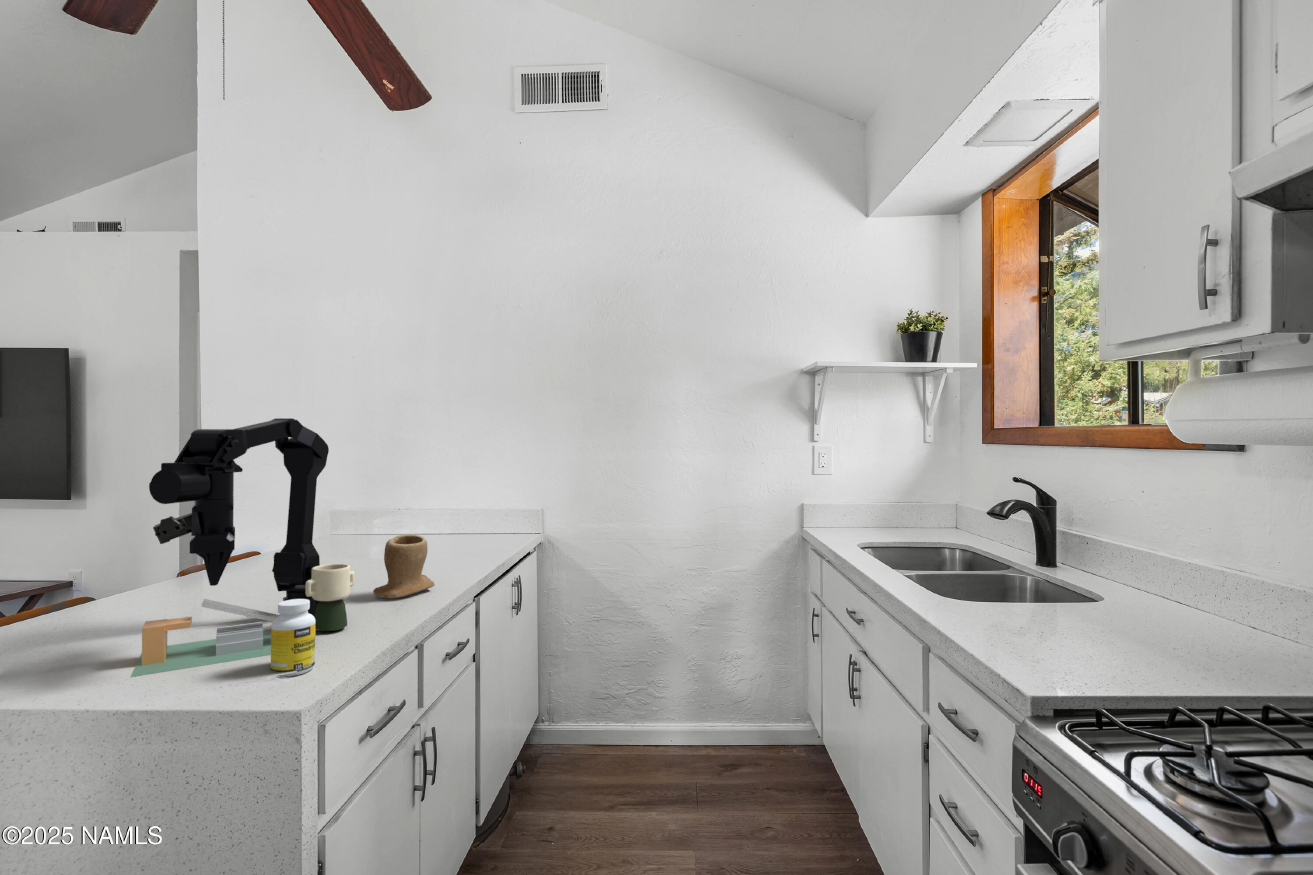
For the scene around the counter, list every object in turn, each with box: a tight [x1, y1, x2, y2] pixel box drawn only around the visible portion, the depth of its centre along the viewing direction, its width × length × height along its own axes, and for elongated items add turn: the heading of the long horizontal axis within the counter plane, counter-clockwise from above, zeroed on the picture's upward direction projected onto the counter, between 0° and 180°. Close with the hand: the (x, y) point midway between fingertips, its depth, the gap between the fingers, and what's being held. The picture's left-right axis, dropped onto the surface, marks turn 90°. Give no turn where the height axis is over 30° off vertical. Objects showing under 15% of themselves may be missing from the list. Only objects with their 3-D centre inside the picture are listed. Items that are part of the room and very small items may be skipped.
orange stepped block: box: [141, 616, 193, 666], centre depth 108 cm, size 6×5×6 cm
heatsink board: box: [130, 621, 271, 678], centre depth 113 cm, size 23×16×6 cm
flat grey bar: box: [200, 598, 279, 622], centre depth 115 cm, size 14×4×1 cm, turn 124°
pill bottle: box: [270, 599, 316, 678], centre depth 105 cm, size 6×6×12 cm
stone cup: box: [372, 533, 435, 599], centre depth 158 cm, size 15×12×15 cm
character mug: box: [306, 563, 356, 633], centre depth 128 cm, size 11×7×13 cm, turn 155°
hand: (213, 585), depth 112 cm, fingers closed
